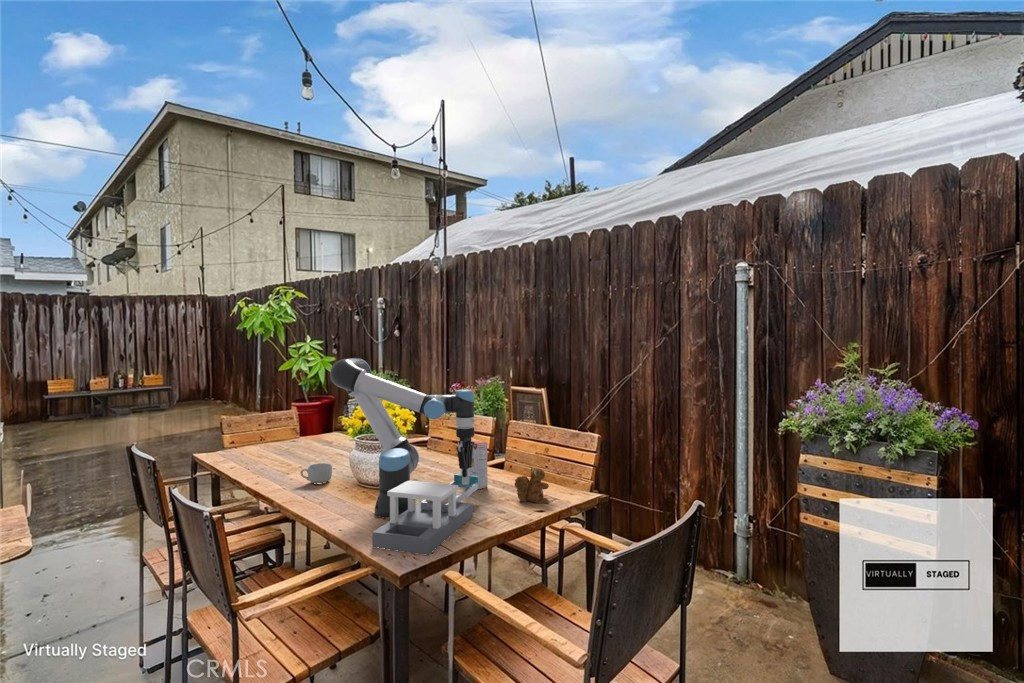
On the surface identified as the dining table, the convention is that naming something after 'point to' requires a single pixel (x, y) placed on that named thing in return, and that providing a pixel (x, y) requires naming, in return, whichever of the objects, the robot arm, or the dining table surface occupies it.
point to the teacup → (318, 472)
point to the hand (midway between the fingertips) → (465, 484)
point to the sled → (458, 481)
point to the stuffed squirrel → (532, 487)
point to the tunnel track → (421, 518)
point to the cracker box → (479, 462)
